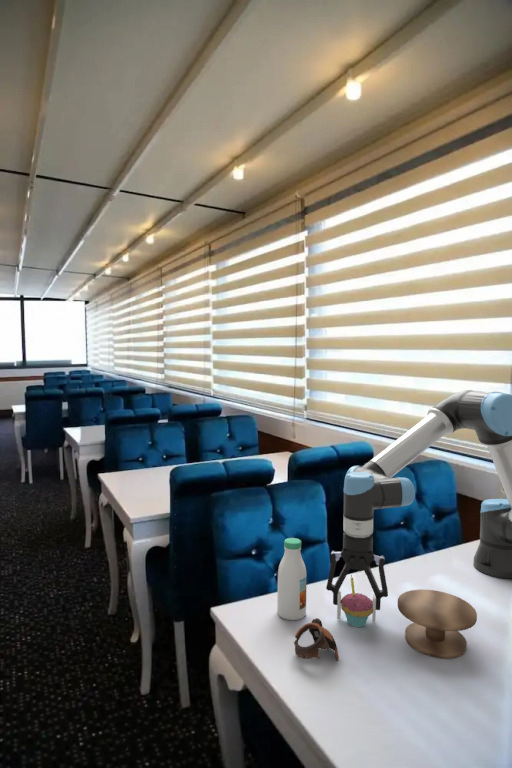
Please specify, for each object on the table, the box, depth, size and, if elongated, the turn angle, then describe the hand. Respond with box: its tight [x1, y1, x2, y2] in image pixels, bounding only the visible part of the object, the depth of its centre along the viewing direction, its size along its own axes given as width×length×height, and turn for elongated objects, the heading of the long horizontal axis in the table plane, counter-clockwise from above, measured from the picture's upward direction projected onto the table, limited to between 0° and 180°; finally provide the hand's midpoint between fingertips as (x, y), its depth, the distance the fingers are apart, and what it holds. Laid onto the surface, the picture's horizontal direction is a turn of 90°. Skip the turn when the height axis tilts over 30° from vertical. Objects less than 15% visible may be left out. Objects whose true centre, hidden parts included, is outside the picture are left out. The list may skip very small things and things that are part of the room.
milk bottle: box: [276, 537, 307, 621], centre depth 129 cm, size 8×8×20 cm
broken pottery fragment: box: [293, 618, 340, 662], centre depth 111 cm, size 12×9×8 cm
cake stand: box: [397, 588, 478, 660], centre depth 117 cm, size 18×18×9 cm
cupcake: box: [341, 574, 373, 628], centre depth 125 cm, size 9×8×12 cm
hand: (356, 618), depth 125 cm, fingers closed on cupcake, 8 cm apart
